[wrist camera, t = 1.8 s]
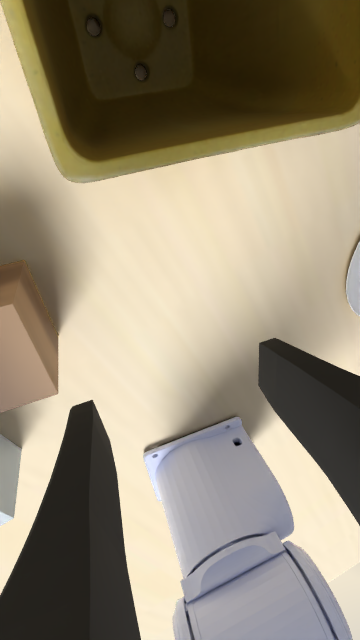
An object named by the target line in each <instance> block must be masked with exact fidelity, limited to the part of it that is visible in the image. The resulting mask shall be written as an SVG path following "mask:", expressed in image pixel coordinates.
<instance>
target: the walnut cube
mask: <svg viewBox="0 0 360 640" xmlns="http://www.w3.org/2000/svg"><path fill="white" fill-rule="evenodd" d="M56 394H58V335H57V333H56V330H55V328H54V326H53V323H52V321H51V319H50V317H49V314H48V312H47V310H46V307H45V305H44V303H43V301H42V298H41V296H40V294H39V292H38V289H37V287H36V285H35V282H34V280H33V278H32V276H31V273H30V271H29V269H28V267H27V264H26V262H25V260H23V261H19V262H14V263H10V264H6V265H1V266H0V413H1V412H4V411H7V410H11V409H14V408H17V407H20V406H23V405H26V404H29V403H32V402H35V401H38V400H41V399H44V398H47V397H50V396H53V395H56Z"/></svg>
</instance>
